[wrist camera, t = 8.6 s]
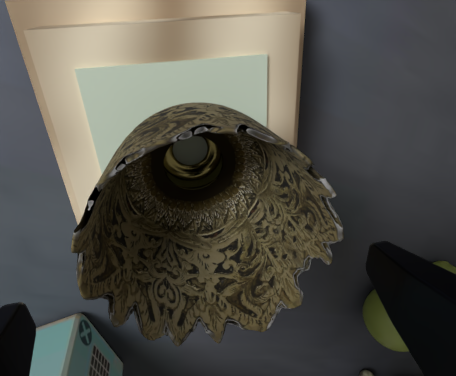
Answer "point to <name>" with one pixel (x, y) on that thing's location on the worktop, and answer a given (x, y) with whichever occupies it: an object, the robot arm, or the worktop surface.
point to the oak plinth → (154, 71)
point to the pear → (387, 318)
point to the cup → (203, 226)
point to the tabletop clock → (365, 373)
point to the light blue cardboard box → (73, 350)
